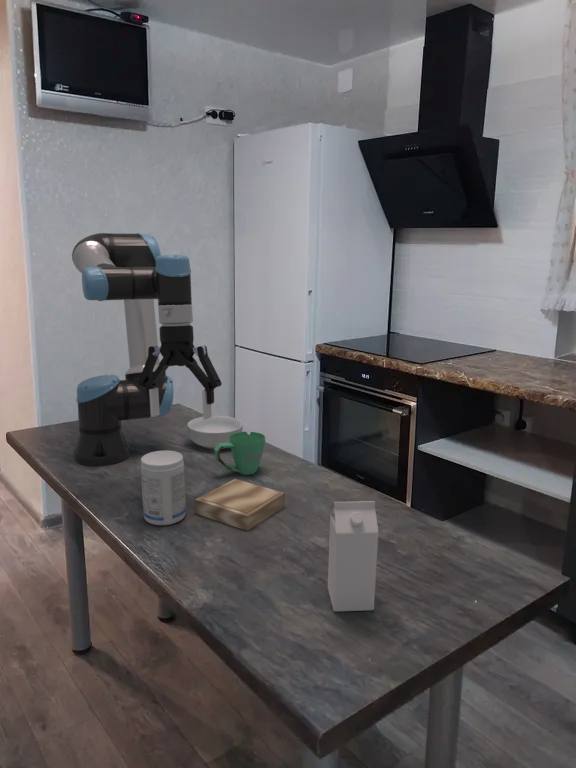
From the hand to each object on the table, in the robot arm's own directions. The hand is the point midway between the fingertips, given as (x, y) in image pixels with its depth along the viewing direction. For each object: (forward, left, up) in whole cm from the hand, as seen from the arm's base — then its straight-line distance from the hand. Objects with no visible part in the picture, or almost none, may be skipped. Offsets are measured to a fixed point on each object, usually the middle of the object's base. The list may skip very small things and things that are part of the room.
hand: (181, 417), depth 139 cm
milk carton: (+51, -12, -22) cm, 57 cm away
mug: (-1, +24, -22) cm, 33 cm away
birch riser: (+13, +6, -22) cm, 26 cm away
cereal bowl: (-21, +38, -22) cm, 49 cm away
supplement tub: (+1, -7, -22) cm, 23 cm away
